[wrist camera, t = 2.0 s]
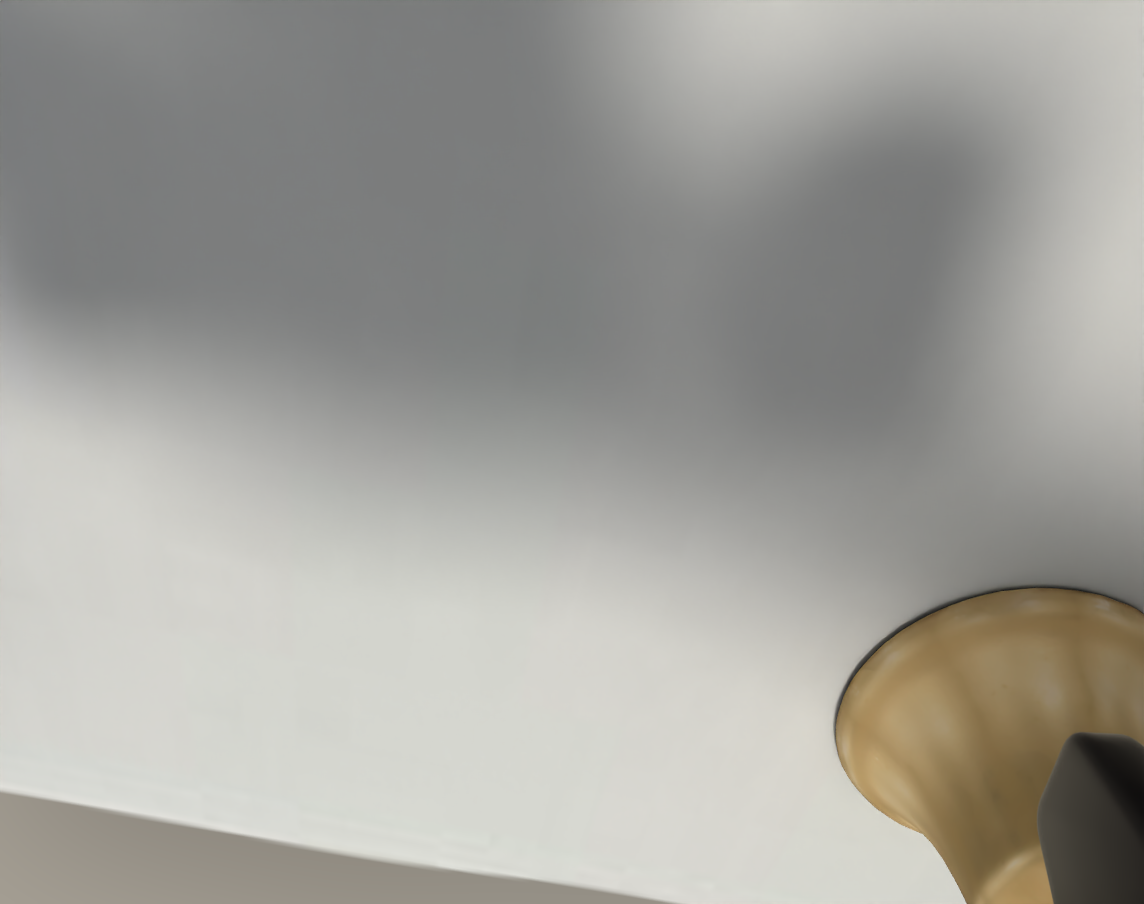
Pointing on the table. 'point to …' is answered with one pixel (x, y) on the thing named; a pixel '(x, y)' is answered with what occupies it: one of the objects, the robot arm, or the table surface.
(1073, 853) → the robot arm
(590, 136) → the table surface
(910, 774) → the hand bell
